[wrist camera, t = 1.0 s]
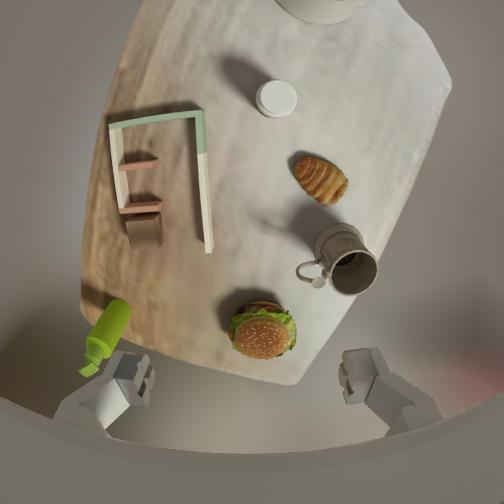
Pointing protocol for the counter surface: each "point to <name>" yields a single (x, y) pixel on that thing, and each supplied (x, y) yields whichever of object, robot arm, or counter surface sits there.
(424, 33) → the counter surface
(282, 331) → the food
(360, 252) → the mug
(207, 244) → the box
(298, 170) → the pastry
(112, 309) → the soap dispenser
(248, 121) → the counter surface
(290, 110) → the pill bottle
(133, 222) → the block
